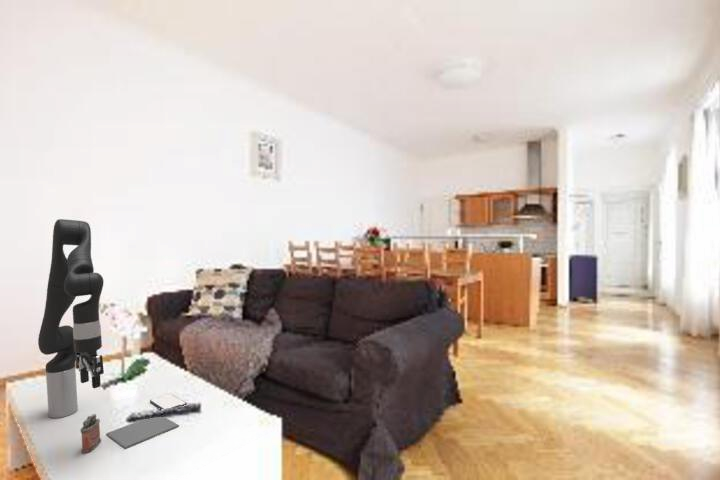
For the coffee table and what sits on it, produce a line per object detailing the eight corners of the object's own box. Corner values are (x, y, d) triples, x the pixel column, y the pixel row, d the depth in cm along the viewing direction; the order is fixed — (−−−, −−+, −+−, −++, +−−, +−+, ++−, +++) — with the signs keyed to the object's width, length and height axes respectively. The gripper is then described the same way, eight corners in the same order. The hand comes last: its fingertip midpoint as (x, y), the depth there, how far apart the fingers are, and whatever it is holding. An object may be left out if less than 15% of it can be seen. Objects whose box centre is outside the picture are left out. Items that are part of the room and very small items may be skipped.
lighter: (92, 440, 141) (91, 411, 141) (103, 440, 141) (101, 410, 141) (78, 454, 133) (77, 423, 133) (90, 453, 133) (88, 422, 133)
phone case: (148, 403, 170) (165, 415, 160) (148, 400, 170) (165, 410, 160) (170, 396, 177) (188, 407, 166) (170, 393, 177) (188, 403, 166)
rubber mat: (106, 435, 145) (106, 433, 145) (158, 415, 159) (158, 413, 159) (125, 449, 135) (125, 447, 135) (179, 426, 149) (178, 425, 149)
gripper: (110, 335, 135) (113, 385, 136) (90, 329, 143) (93, 376, 144) (84, 341, 129) (87, 393, 129) (65, 335, 137) (68, 384, 138)
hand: (90, 384), depth 137 cm, fingers open, 8 cm apart
